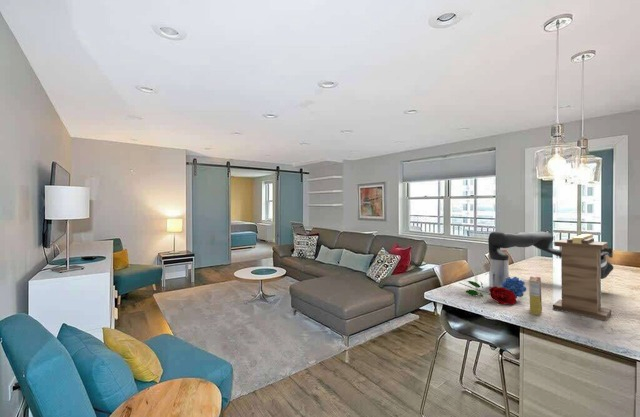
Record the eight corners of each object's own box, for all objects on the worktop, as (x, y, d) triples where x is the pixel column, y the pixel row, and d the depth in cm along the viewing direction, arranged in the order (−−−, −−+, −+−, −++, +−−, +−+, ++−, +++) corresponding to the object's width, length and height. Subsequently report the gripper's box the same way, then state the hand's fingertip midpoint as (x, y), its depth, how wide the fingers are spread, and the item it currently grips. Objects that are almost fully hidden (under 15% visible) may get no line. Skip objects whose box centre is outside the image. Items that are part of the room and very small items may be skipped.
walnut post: (605, 321, 119) (605, 241, 119) (552, 309, 134) (551, 238, 134) (611, 313, 128) (610, 239, 128) (560, 302, 142) (559, 236, 142)
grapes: (529, 300, 147) (529, 277, 147) (524, 303, 143) (524, 279, 143) (504, 294, 156) (503, 273, 156) (499, 297, 152) (498, 274, 152)
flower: (456, 272, 163) (515, 288, 138) (463, 277, 168) (522, 294, 143) (451, 287, 161) (510, 306, 136) (458, 292, 166) (517, 311, 141)
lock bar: (581, 243, 125) (581, 238, 125) (572, 243, 128) (572, 237, 128) (592, 239, 140) (592, 234, 140) (584, 238, 142) (584, 233, 142)
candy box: (530, 307, 136) (530, 275, 136) (541, 309, 134) (541, 277, 134) (529, 313, 130) (528, 279, 130) (540, 315, 127) (540, 281, 127)
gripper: (579, 250, 160) (573, 237, 151) (615, 253, 148) (611, 240, 140) (577, 262, 157) (571, 250, 149) (614, 266, 146) (610, 254, 137)
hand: (590, 245), depth 144 cm, fingers open, 8 cm apart
